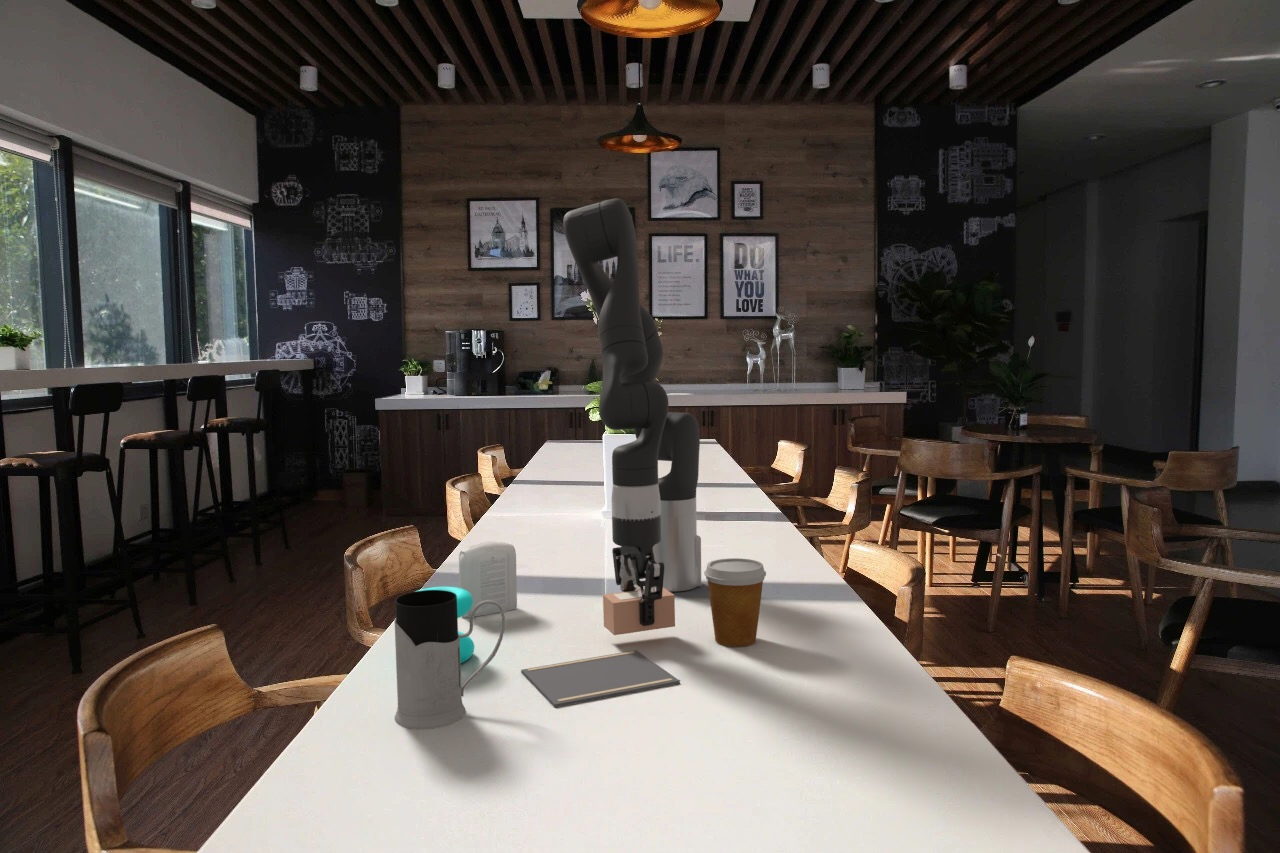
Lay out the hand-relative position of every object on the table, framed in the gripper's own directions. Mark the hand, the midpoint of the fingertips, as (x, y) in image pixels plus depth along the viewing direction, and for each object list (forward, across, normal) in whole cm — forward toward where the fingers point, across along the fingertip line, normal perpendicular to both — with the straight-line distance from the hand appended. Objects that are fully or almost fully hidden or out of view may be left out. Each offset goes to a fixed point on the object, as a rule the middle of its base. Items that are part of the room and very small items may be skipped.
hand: (638, 619), depth 141 cm
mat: (+3, -12, +12) cm, 17 cm away
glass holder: (+3, -13, +33) cm, 36 cm away
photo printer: (+4, +26, +16) cm, 31 cm away
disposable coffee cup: (+4, -7, -13) cm, 15 cm away
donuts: (+3, +7, +30) cm, 31 cm away
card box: (+1, 0, 0) cm, 1 cm away
